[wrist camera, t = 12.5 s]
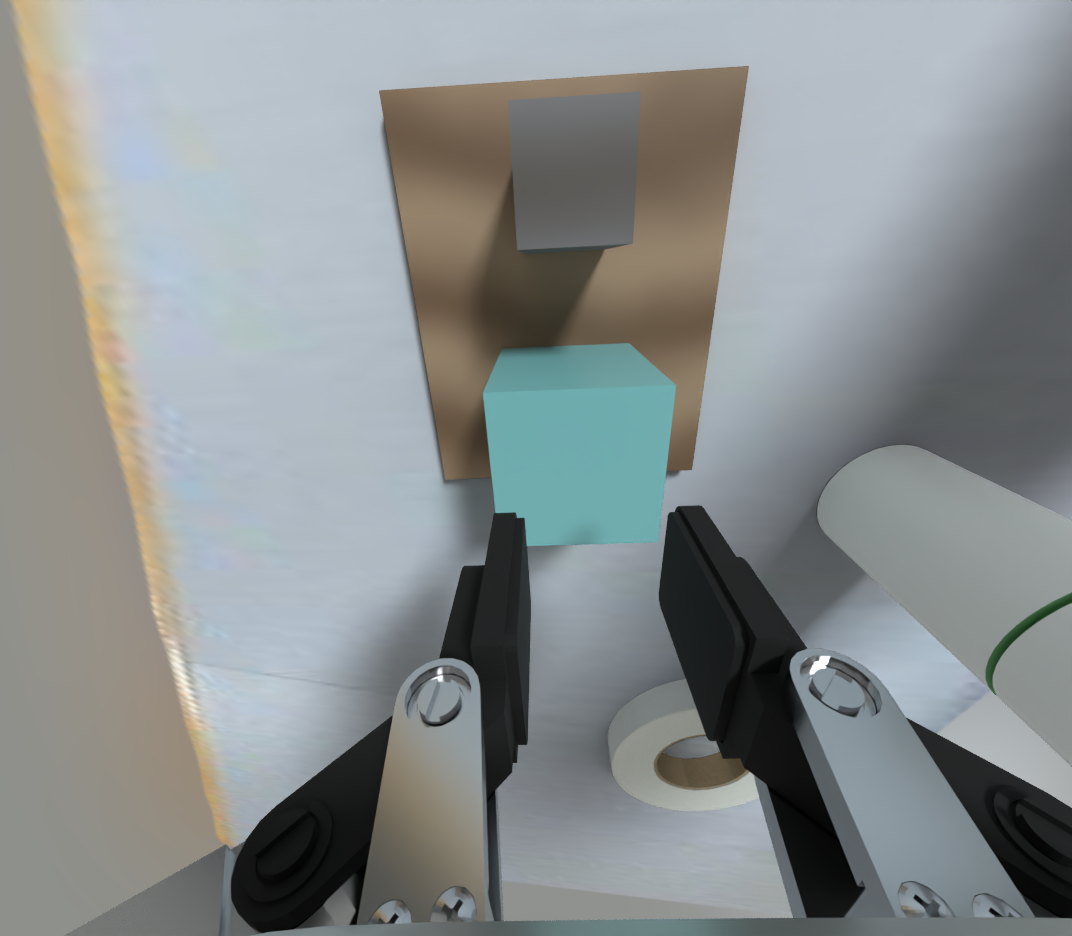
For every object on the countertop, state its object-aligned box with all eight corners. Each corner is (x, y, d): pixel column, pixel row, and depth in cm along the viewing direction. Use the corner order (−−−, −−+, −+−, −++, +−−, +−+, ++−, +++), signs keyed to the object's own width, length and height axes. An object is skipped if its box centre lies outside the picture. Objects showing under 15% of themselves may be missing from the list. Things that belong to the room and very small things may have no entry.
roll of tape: (588, 767, 39) (592, 803, 36) (635, 662, 32) (643, 696, 30) (740, 785, 40) (754, 820, 38) (817, 687, 33) (840, 722, 31)
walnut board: (387, 99, 16) (295, 0, 10) (737, 77, 16) (863, -42, 10) (448, 471, 24) (417, 544, 18) (685, 462, 24) (738, 533, 17)
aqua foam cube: (502, 348, 20) (483, 392, 13) (629, 343, 20) (676, 384, 13) (510, 462, 23) (499, 547, 16) (622, 458, 23) (658, 542, 16)
